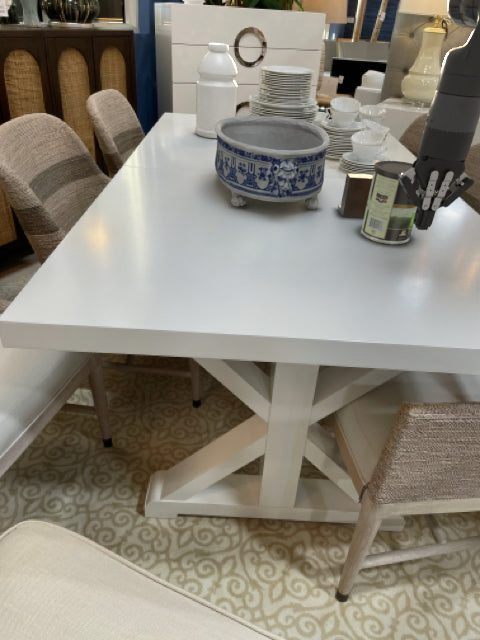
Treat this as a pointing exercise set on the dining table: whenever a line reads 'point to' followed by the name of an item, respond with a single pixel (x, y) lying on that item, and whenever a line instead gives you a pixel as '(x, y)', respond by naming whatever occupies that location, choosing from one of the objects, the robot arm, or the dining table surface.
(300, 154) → the decorative bowl
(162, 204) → the dining table surface
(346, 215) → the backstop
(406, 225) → the coffee can
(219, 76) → the bottle
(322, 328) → the dining table surface
